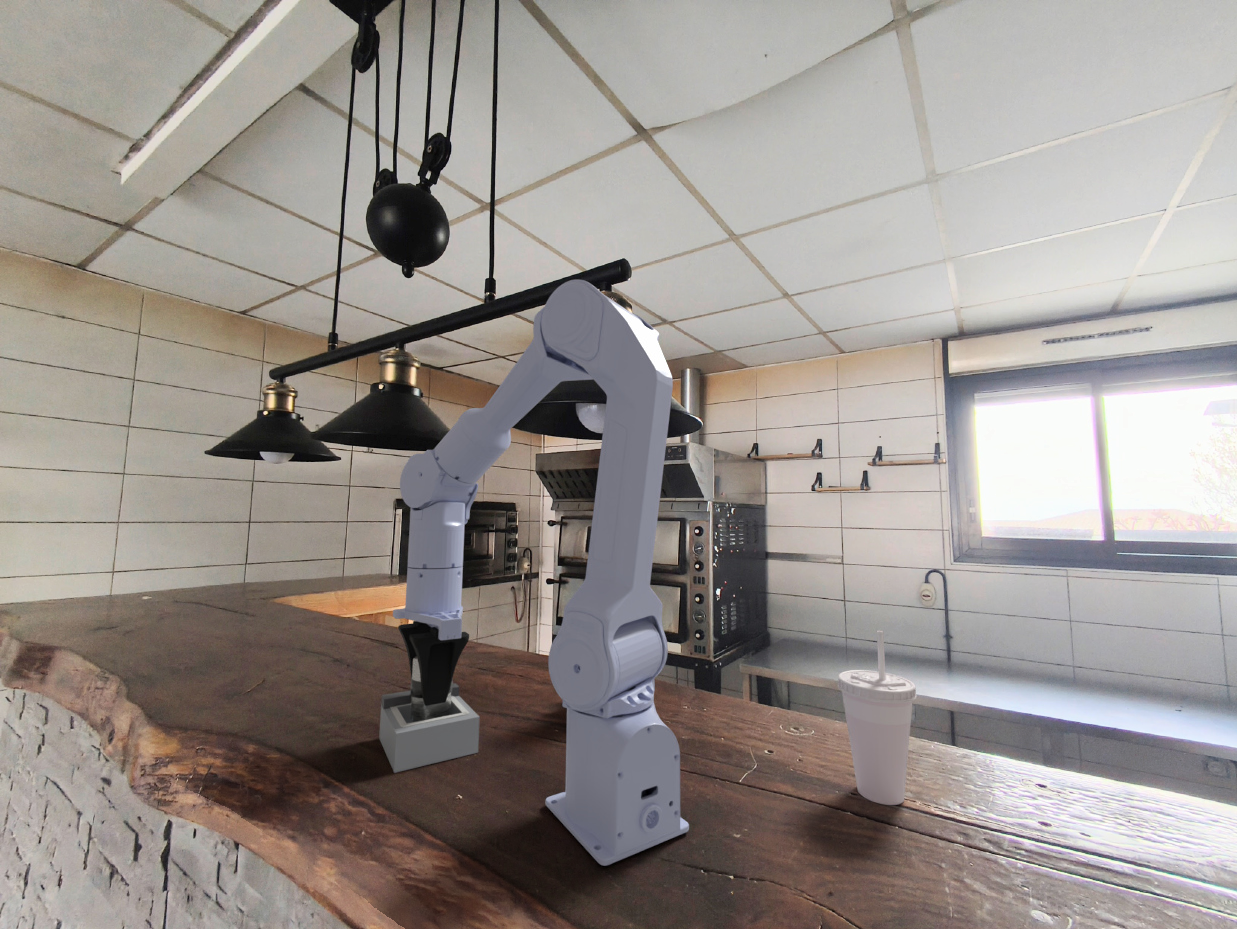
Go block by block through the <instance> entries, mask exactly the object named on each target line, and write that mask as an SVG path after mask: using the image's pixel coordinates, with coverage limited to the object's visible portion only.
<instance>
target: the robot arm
mask: <svg viewBox="0 0 1237 929" xmlns="http://www.w3.org/2000/svg"><path fill="white" fill-rule="evenodd" d="M532 329H533V330H532V332H533V333H532V334H533V339H532V341H531V342H530V343H529V345H528V346H527V348H526V349H525V350H524V352H523V353H522V354H521V356H520V357H519V358H518V360H517V361H516V362H515V364H514V365H513V367H512V368H511V370H510V372H508V374H507V375H506V376H505V378H504V379H503V381H502V382H501V384H500V385H499V387H498V388H497V389H496V391H495V392H493V393H494V394H493V395H492V396H491V397H490V399H489V400H488V402H487V403H486V404H485V405H484V407H480V408H479V407H473V408H468V409H466V410H465V411H464V412H462V414H461V415H460V416H459V418H458V420H457V421H456V422H455V423H454V425H453V426H452V427H451V428H450V430H449V431H448V432H447V433H446V434H445V435H444V436H443V437H442V439H441V440H440V441H439V443H438V444H437V445H436V446H435V447H434V448H433V449H427V450H426V451H424V452H423V453H416V454H415V453H414V454H413V455H411V456H410V457H409V459H408V460H407V462H406V463H405V464H404V467H403V469H402V470H401V471H402V472H401V474H400V479H399V491H400V495H401V498H402V501H403V502H404V503H405V505H406V506H408V507H409V508H410V511H409V532H408V534H409V535H408V551H407V574H406V590H405V591H406V592H405V607H404V608H398V609H397V608H396V609H393V610H392V617H393V618H394V619H396V620H399V619H400V620H401V619H405V620H409V621H412V623H404V624H400V625H398V627H397V628H398V630H399V633H400V635H401V637H402V639H403V642H404V645H405V648H406V653H407V658H408V663H409V669H410V671H409V672H410V679H411V678H412V671H413V658H414V657H416V656H417V659H418V663H419V669H420V679H421V691H422V697H423V701H424V704H425V706H428V705H434V704H439V703H445V702H446V700H447V697H448V693H449V690H450V686H451V682H452V678H454V674H455V670H456V667H457V664H458V662H459V660H460V657H461V655H462V653H463V650H464V649H465V647H466V646H467V644H468V642H469V640H470V634H469V633H468V632H466V631H462V629H463V628H462V627H463V618H462V616H463V612H464V607H463V605H462V594H463V593H462V592H463V570H464V569H463V568H464V567H463V566H464V546H465V525H466V524H467V523H468V520H470V517H471V516H470V515H471V513H470V511H471V507H472V505H473V503H474V502H475V499H476V497H477V494H478V490H479V483H478V481H479V480H480V479H481V478H482V477H483V476H484V475H485V473H487V471H488V470H489V469H490V468H491V467H492V466H493V465H494V464H495V463H496V462H497V461H498V459H499V458H501V456H502V455H503V454H504V453H505V452H506V451H507V450H508V449H509V447H510V446H511V443H512V442H511V441H512V435H511V434H512V433H511V429H512V428H513V427H514V426H515V425H516V424H518V423H519V421H520V420H521V419H523V418H524V417H525V416H526V415H527V414H528V413H530V411H531V410H532V409H533V408H535V406H537V404H539V403H540V402H541V401H542V400H543V399H544V398H545V397H546V396H547V395H548V394H550V393H551V391H553V390H554V389H555V388H556V387H557V386H558V385H559V384H560V383H562V382H568V381H569V382H571V381H589V380H593V381H594V382H595V383H596V384H597V385H598V387H600V389H602V391H603V392H604V393H605V394H606V404H605V412H604V414H605V415H604V421H603V422H604V423H603V429H602V437H601V445H600V454H599V455H600V456H599V463H598V470H597V480H596V488H595V489H596V490H595V495H594V496H595V497H594V504H593V512H592V514H593V515H592V520H591V521H592V522H591V528H590V530H591V531H590V537H589V538H590V539H589V546H588V555H587V562H586V563H587V564H586V571H585V577H584V580H583V582H582V584H581V585H580V586H579V587H578V589H577V590H576V591H575V592H574V594H572V596H571V597H570V599H569V600H568V602H566V605H565V606H564V609H563V616H562V622H561V625H560V629H559V631H558V633H557V635H556V636H555V638H554V639H553V641H552V643H551V646H550V649H549V652H548V659H547V660H548V664H547V666H548V673H549V678H550V680H551V684H552V685H553V686H552V687H553V688H554V690H555V692H556V694H557V695H558V696H559V697H560V699H561V700H562V705H561V706H562V707H563V708H565V709H566V734H565V735H566V738H565V742H566V746H565V747H566V748H565V788H564V789H565V791H563V792H559V793H557V794H553V795H551V796H548V797H546V799H545V806H546V807H547V809H548V810H550V811H551V813H553V815H554V816H555V817H556V818H557V819H558V820H559V821H560V822H561V823H562V824H563V826H564V827H565V828H566V829H567V830H568V831H569V832H570V833H571V834H572V836H574V838H575V839H576V840H577V841H578V842H579V843H580V845H582V846H583V848H584V849H585V850H586V851H587V853H589V854H590V855H591V856H592V858H593V859H594V860H595V861H596V862H597V863H598V864H599V865H601V866H604V867H606V866H610V865H612V864H614V863H617V862H619V861H621V860H624V859H626V858H628V857H631V856H634V855H635V854H638V853H640V852H642V851H645V850H647V849H650V848H652V847H654V846H657V845H659V844H661V843H664V842H666V841H668V840H671V839H673V838H676V837H678V836H680V835H683V834H685V833H687V832H688V831H689V830H690V824H689V822H688V821H686V820H685V819H683V818H682V816H681V754H680V753H681V750H680V745H679V743H678V739H677V737H676V735H675V734H674V732H673V730H671V728H669V727H668V726H667V725H666V724H665V723H664V722H663V721H662V719H661V718H660V716H659V714H658V713H657V710H656V705H655V701H654V700H655V699H654V698H655V686H656V685H655V682H656V681H655V678H656V677H657V676H658V675H659V674H661V672H662V671H663V669H664V667H665V665H666V662H667V660H668V652H669V651H668V650H669V648H668V640H667V637H666V634H665V631H664V627H663V609H664V605H663V603H662V601H661V599H660V598H659V597H658V595H657V594H656V593H655V591H654V590H653V589H652V587H651V579H652V578H651V577H652V572H653V571H652V569H653V561H654V554H655V553H654V552H655V543H656V536H657V535H656V534H657V527H658V526H657V525H658V518H659V517H658V516H659V509H660V508H659V507H660V500H661V493H662V492H661V491H662V483H663V474H664V465H665V456H666V448H667V441H668V440H667V439H668V433H669V422H670V413H671V405H672V404H671V403H672V397H673V396H672V395H673V388H674V384H673V383H674V382H673V381H674V379H673V375H672V372H671V370H670V368H669V365H668V363H667V361H666V359H665V356H664V354H663V351H662V348H661V346H660V343H659V340H660V339H659V338H660V332H659V331H658V330H656V329H655V328H654V327H653V326H652V325H651V324H650V323H648V322H647V321H646V320H645V319H644V318H642V317H641V316H639V315H637V314H635V313H632V312H631V311H629V310H628V309H626V308H625V307H623V306H622V305H620V304H619V303H617V302H615V301H614V300H613V299H611V298H610V297H608V296H607V295H605V294H604V293H602V291H600V290H599V289H598V287H596V286H594V285H593V284H592V283H590V282H589V281H586V280H584V279H571V280H568V281H565V282H564V283H562V284H561V285H559V286H558V287H557V288H555V290H554V291H552V293H551V294H550V295H549V297H548V299H547V301H546V302H545V305H544V306H543V308H541V309H540V310H539V311H538V312H537V313H536V314H535V316H534V318H533V327H532Z"/></svg>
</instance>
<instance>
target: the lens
mask: <svg viewBox="0 0 1237 929" xmlns="http://www.w3.org/2000/svg"><path fill="white" fill-rule="evenodd" d="M453 678H454V677H453ZM453 678H452V682H451V686H450V690H449V693H448V697H447V700H446V702H445V703H439V704H434V705H428V706H425V704H424V701H423V697H422V691H421V679H420V669H419V663H418V659H417V656H416V657H414V658H413V671H412V678H411V677H410V690H411V692H410V695H411V714H410V719H411V720H412V721H414V722H418V721H423V720H428V719H433V718H438V717H443V716H448V715H450V710H451V692H452V683H454V681H453V680H454V679H453Z"/></svg>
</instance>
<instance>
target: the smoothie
mask: <svg viewBox="0 0 1237 929" xmlns="http://www.w3.org/2000/svg"><path fill="white" fill-rule="evenodd" d="M876 642H877V666H878V671H876V670H868V669H867V670H866V669H851V670H845V671H842V672H840V673H838V674H837V689H839V691H841V694H842V701H843V708H844V714H845V719H846V727H847V733H848V739H849V745H850V750H851V752H850V753H851V756H852V757H851V758H852V765H853V769H854V775H855V776H854V777H855V782H856V787H857V788H856V789H857V792H858V794H860V796H862V797H864V798H865V799H867V800H868V801H871V802H874V803H877V804H879V805H880V804H881V805H887V806H896V805H901V804H903V803H904V801H905V794H906V785H907V784H906V783H907V782H906V781H907V771H908V770H907V768H908V757H909V745H910V736H911V724H912V723H911V722H912V714H913V712H912V710H913V701H915V700H916V699H917V698H918V697H917V691H916V690H917V689H916V684H915V683H914V682H913V681H911V680H909V679H907V678H906V677H903V676H900V675H897V674H893V673H889V672H886V660H885V659H886V658H885V655H886V653H885V635H884V631H883V630H877V631H876Z"/></svg>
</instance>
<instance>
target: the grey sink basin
mask: <svg viewBox="0 0 1237 929" xmlns="http://www.w3.org/2000/svg"><path fill="white" fill-rule="evenodd" d="M410 692H411V689H409V690H405V691H399V692H392V693H387V694H382V695H381V701H380V702H381V703H380V717H379V718H380V719H379V722H380V723H379V738H378V739H379V742H380V744H381V745H382V747H383V750H384V752H385V754H386V758H387V760H388V761H389V764H390V766H391V768H392V771H393V773H394V774H396V773H401V772H403V771H404V772H405V771H408V770H412V769H416V768H419V767H421V768H422V767H423V766H424V767H425V766H428V765H431V764H432V765H433V764H436V763H437V764H438V763H441V762H445V761H449V760H452V759H453V760H454V759H456V758H457V759H458V758H461V757H467V756H470V755H473V754H474V755H475V754H479V744H480V743H479V740H480V715H479V714H478V713H477V712H475V710H473V708H472V707H471V706H470V705H469V704H468V703H467V702H466V701H465V700H464V699H463V698H462V697H461V696H460V686H459V685H458V684H457V683H456V682H455V683H454V682H453V683H452V692H451V710H450V715H448V716H443V717H438V718H433V719H428V720H423V721H418V722H414V721H412V720H411V719H410V714H411V695H410Z"/></svg>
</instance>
